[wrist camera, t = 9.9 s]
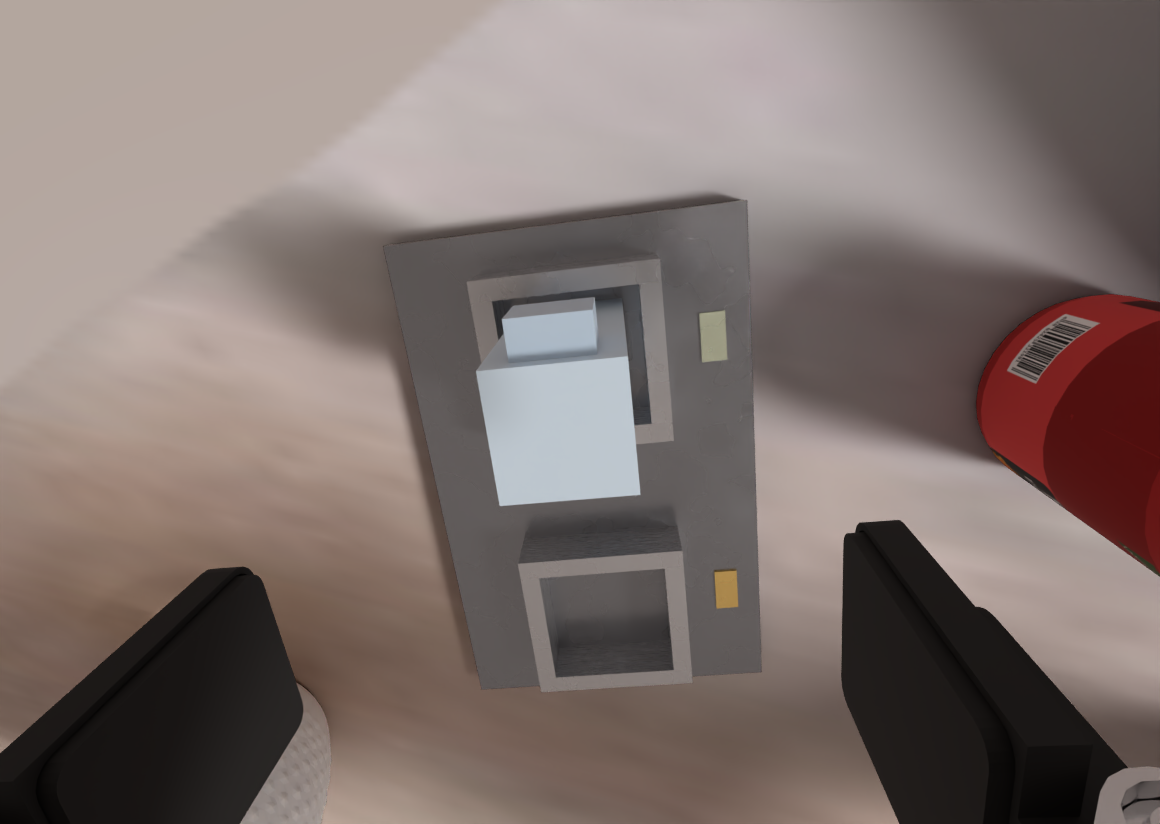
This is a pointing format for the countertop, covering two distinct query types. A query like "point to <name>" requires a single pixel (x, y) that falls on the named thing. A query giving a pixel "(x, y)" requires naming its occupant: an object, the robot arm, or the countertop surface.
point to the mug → (298, 774)
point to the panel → (663, 443)
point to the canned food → (1084, 414)
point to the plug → (560, 403)
